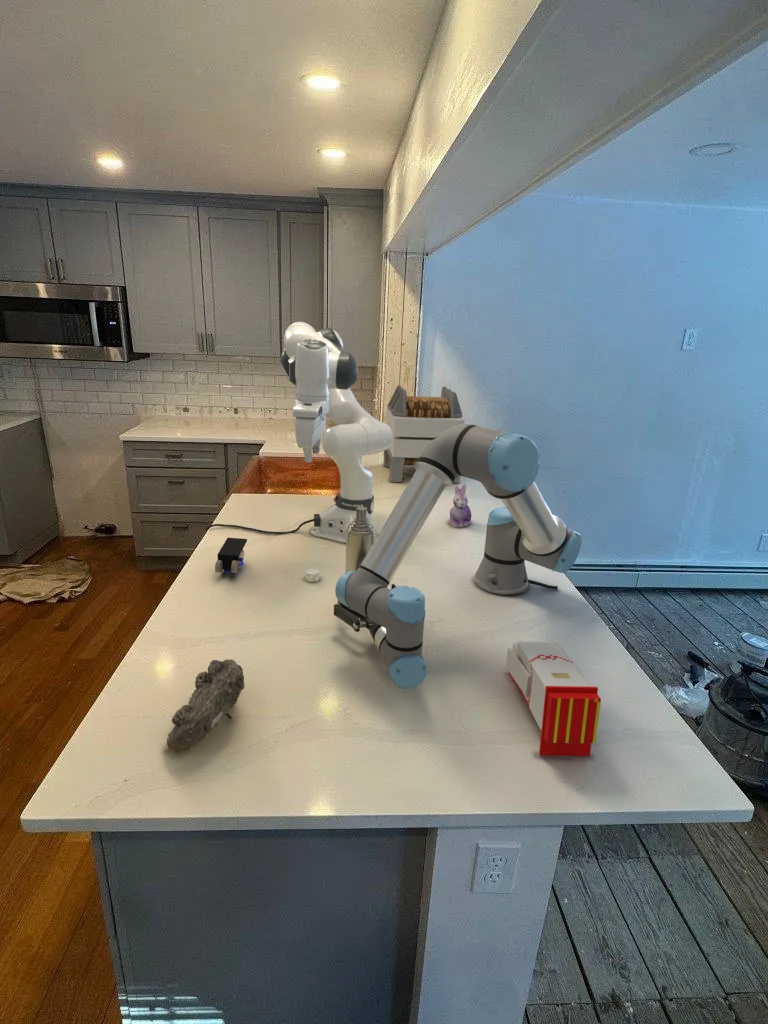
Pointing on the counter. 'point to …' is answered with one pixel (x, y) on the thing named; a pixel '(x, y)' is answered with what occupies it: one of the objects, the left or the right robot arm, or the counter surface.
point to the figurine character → (230, 556)
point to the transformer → (417, 426)
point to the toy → (556, 697)
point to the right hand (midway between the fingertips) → (367, 591)
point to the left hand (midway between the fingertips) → (312, 457)
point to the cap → (312, 575)
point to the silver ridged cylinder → (358, 539)
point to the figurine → (460, 508)
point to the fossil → (206, 705)
